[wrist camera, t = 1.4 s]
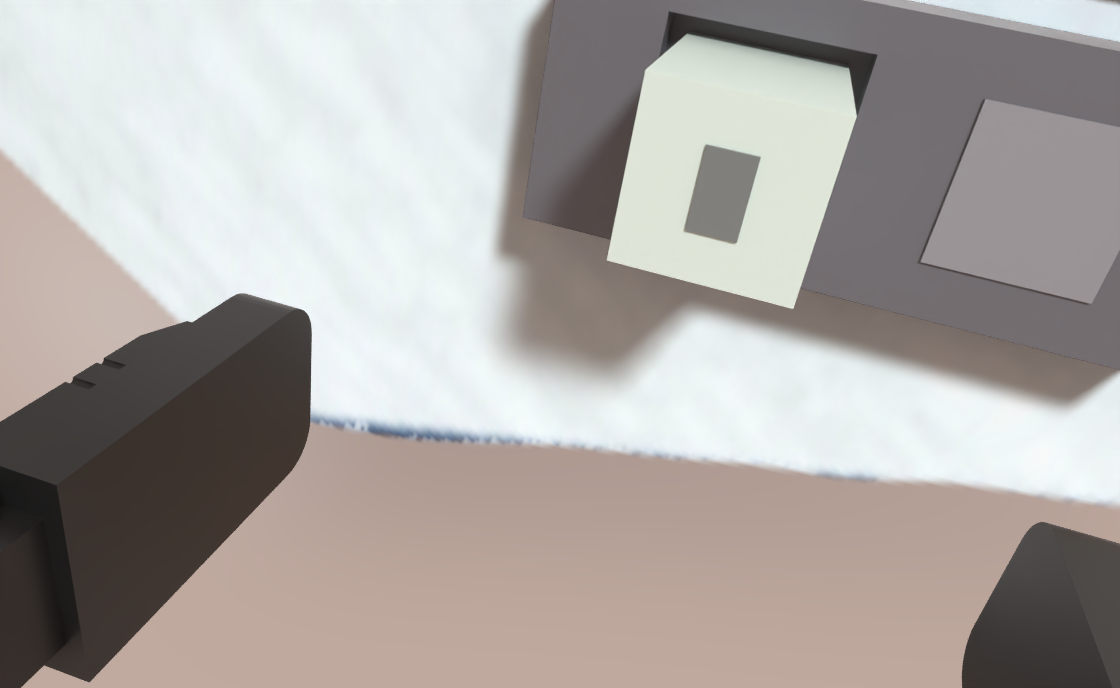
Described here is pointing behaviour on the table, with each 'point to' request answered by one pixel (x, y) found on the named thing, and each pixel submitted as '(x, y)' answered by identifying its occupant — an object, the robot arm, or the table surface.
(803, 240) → the block
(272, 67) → the table surface
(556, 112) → the power strip
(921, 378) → the table surface
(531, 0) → the table surface
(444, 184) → the table surface
